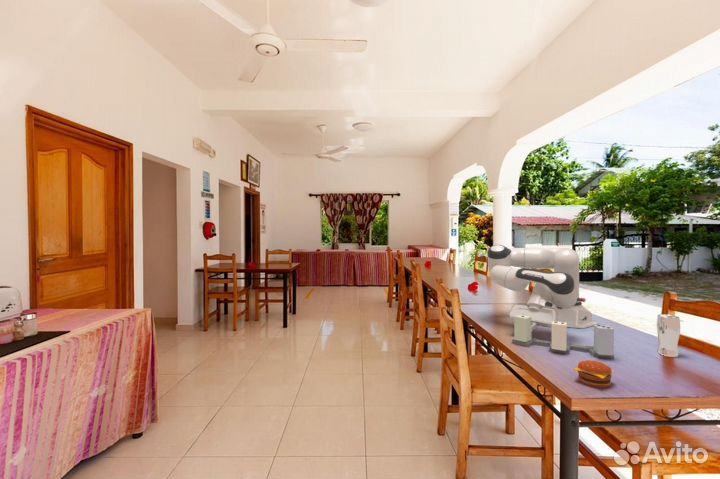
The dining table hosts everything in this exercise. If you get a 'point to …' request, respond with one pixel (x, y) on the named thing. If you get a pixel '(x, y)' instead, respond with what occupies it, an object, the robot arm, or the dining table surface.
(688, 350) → the dining table surface
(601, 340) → the key three dots
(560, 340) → the key two dots
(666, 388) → the dining table surface
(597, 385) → the hamburger
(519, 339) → the key one dot
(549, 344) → the grey flat piece
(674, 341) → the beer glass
